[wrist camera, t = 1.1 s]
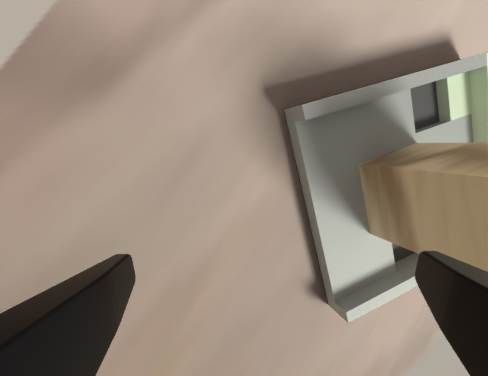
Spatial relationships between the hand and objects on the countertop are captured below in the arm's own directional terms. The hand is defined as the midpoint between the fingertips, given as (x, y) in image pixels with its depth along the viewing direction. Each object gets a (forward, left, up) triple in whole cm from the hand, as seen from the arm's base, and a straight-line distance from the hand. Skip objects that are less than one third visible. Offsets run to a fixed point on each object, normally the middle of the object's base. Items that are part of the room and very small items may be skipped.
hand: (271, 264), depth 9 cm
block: (+11, -11, -10) cm, 18 cm away
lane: (+12, -11, -11) cm, 20 cm away
